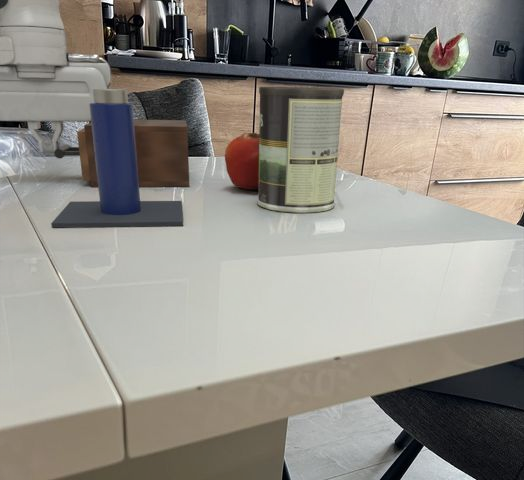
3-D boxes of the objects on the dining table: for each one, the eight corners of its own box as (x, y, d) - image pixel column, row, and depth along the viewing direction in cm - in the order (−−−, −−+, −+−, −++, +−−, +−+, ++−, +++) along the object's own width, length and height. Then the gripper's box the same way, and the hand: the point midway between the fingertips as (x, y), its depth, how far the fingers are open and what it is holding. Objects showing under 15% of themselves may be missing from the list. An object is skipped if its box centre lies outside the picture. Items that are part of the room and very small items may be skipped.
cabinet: (91, 187, 82) (84, 125, 78) (102, 172, 95) (96, 119, 91) (189, 186, 84) (187, 126, 80) (187, 172, 97) (185, 120, 93)
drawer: (53, 180, 81) (46, 131, 78) (68, 167, 93) (63, 124, 90) (173, 180, 83) (171, 132, 81) (174, 168, 95) (172, 126, 92)
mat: (51, 227, 59) (51, 223, 58) (70, 205, 69) (70, 201, 69) (183, 225, 61) (183, 221, 60) (181, 204, 71) (181, 200, 71)
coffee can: (246, 209, 70) (246, 86, 63) (271, 195, 78) (274, 86, 72) (324, 216, 67) (333, 88, 60) (342, 201, 75) (351, 88, 69)
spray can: (98, 215, 62) (84, 89, 57) (103, 206, 67) (90, 88, 61) (139, 214, 63) (130, 90, 57) (141, 206, 67) (132, 89, 61)
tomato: (242, 182, 88) (242, 129, 85) (294, 188, 85) (296, 132, 81) (212, 191, 81) (211, 133, 77) (268, 197, 77) (270, 136, 74)
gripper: (111, 55, 84) (119, 151, 90) (-31, 51, 81) (-12, 150, 87) (106, 53, 78) (116, 155, 84) (-46, 49, 75) (-25, 155, 81)
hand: (50, 153), depth 85 cm, fingers closed
